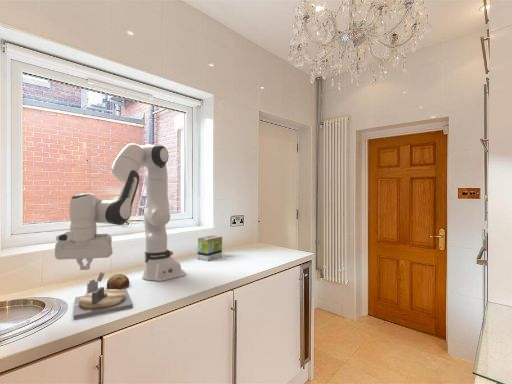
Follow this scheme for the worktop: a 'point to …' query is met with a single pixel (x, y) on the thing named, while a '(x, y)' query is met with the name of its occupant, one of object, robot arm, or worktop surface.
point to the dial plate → (84, 312)
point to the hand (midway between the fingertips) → (85, 269)
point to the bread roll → (118, 282)
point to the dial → (102, 298)
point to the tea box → (209, 248)
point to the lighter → (94, 283)
